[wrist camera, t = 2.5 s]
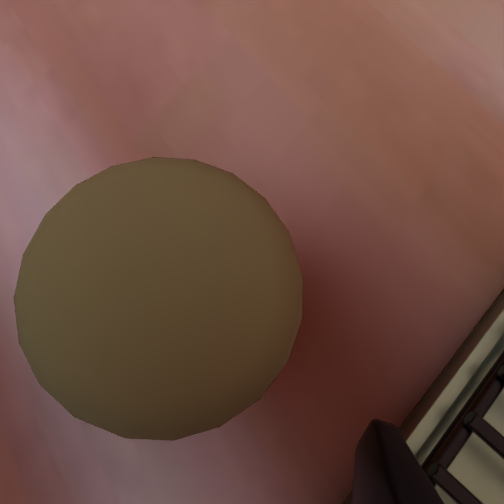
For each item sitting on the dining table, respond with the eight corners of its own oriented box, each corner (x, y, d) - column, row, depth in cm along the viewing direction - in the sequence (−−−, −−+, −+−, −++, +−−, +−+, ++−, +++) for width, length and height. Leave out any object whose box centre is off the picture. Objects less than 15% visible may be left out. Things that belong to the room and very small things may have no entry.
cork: (108, 295, 17) (-99, 175, 6) (240, 240, 18) (250, 56, 7) (159, 438, 16) (2, 586, 5) (301, 371, 16) (419, 376, 6)
